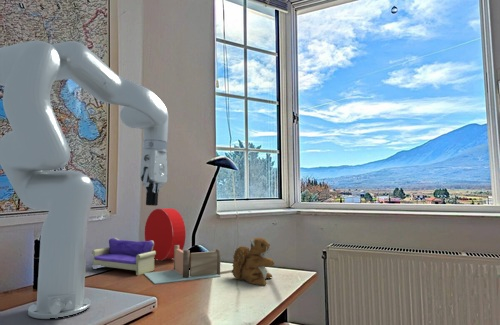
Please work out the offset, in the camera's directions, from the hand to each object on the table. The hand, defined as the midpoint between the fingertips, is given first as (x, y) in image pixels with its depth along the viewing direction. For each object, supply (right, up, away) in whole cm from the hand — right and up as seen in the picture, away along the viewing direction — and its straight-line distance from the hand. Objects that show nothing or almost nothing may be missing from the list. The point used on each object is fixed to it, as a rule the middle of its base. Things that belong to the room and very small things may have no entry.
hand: (151, 205), depth 110 cm
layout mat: (+9, -23, +3) cm, 25 cm away
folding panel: (+8, -23, +6) cm, 25 cm away
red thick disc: (-3, -25, +28) cm, 38 cm away
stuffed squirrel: (+31, -23, -1) cm, 39 cm away
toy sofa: (-12, -24, +9) cm, 28 cm away
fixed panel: (+15, -23, +2) cm, 28 cm away
